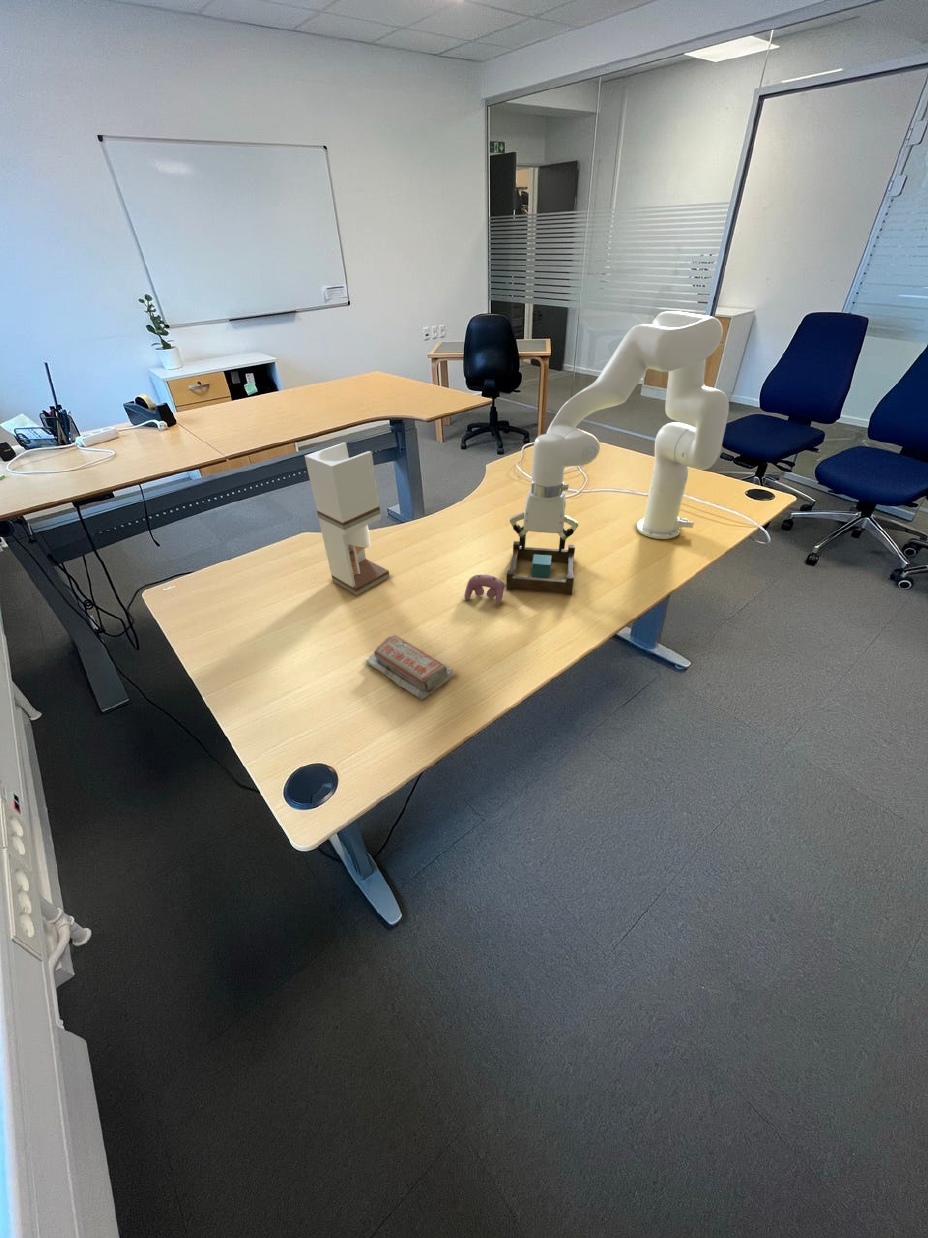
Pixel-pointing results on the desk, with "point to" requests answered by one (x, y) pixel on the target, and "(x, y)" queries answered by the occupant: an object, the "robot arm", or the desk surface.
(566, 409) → the robot arm
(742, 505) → the desk surface
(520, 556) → the wooden frame
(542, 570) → the teal block
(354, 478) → the tall open-top tower
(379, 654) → the packaged product
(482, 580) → the video game controller
